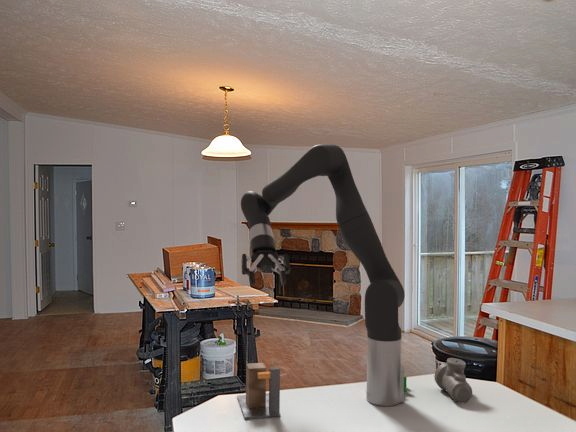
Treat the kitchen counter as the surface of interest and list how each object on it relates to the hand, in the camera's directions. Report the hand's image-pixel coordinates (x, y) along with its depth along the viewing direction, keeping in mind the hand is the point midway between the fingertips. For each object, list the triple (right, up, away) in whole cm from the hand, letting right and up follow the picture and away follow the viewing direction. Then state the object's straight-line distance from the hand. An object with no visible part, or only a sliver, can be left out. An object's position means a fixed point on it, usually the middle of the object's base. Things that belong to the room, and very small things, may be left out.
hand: (268, 284), depth 142 cm
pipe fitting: (+52, -32, -2) cm, 61 cm away
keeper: (-2, -31, -11) cm, 33 cm away
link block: (-3, -30, -11) cm, 32 cm away
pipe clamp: (+38, -31, +4) cm, 49 cm away
